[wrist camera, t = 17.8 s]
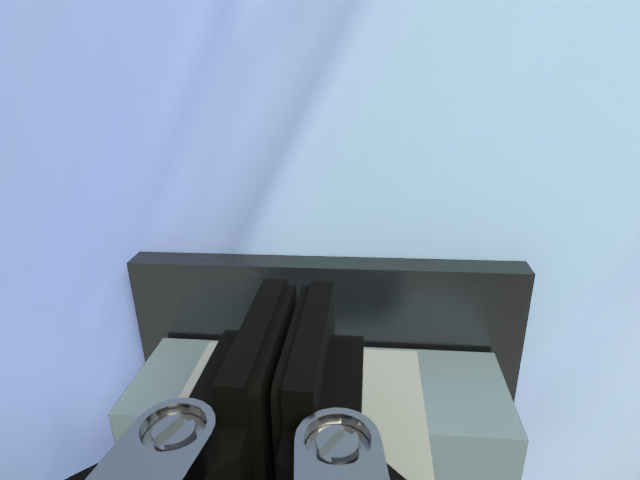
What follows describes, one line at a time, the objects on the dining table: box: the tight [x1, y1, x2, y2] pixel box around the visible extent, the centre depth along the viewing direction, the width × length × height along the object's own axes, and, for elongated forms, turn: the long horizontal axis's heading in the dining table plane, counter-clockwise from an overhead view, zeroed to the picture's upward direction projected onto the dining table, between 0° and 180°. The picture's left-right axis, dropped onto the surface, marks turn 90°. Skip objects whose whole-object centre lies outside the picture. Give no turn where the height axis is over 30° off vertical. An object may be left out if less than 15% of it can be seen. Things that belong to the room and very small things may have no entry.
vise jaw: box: [108, 338, 528, 480], centre depth 13 cm, size 12×6×9 cm, turn 91°
